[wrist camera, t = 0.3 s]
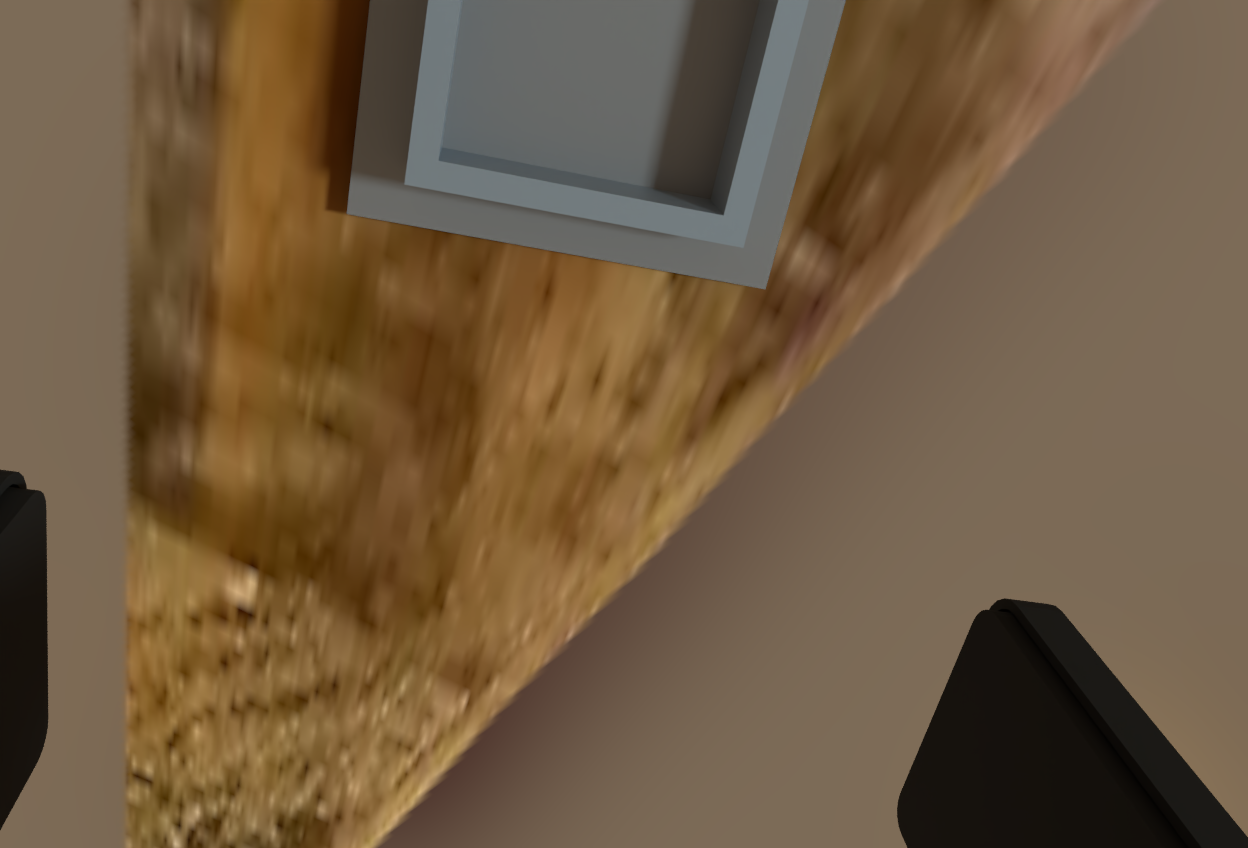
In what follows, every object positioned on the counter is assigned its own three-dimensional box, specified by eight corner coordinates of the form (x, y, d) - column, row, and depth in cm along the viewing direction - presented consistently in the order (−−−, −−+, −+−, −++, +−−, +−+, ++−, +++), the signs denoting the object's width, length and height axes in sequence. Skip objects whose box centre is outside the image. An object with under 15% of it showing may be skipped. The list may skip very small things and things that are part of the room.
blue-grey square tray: (405, -298, 32) (396, -322, 29) (884, -167, 35) (920, -177, 32) (349, 208, 39) (337, 231, 36) (760, 282, 42) (781, 309, 39)
